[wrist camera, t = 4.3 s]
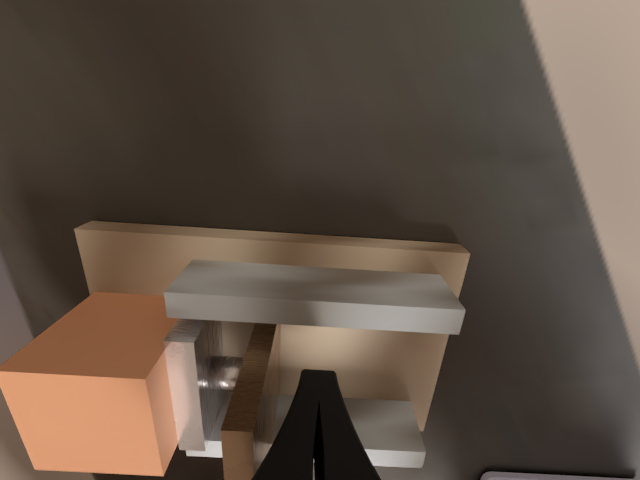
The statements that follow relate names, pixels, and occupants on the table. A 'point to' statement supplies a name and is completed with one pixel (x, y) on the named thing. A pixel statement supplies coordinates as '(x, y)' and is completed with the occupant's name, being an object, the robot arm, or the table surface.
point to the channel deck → (305, 312)
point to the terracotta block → (96, 389)
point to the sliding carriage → (224, 391)
